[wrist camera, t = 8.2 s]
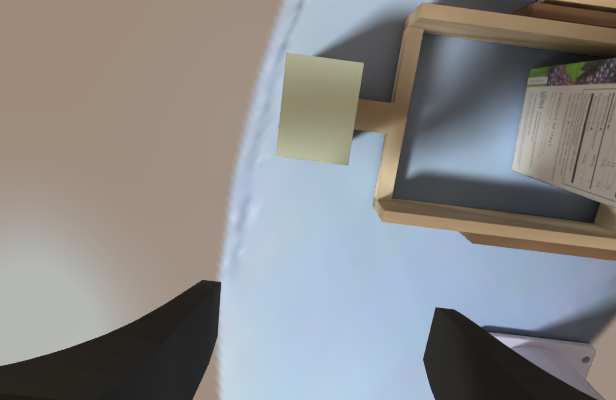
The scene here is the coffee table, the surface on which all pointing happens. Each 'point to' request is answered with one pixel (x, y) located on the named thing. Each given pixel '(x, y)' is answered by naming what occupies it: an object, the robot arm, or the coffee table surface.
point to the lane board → (572, 17)
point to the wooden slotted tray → (392, 116)
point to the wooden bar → (585, 4)
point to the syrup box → (571, 129)
